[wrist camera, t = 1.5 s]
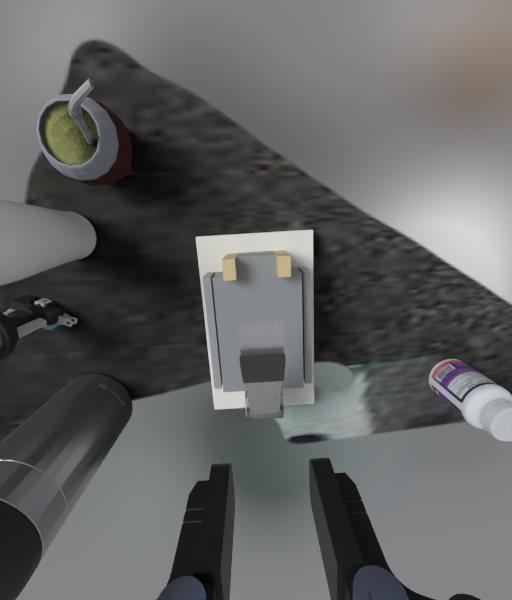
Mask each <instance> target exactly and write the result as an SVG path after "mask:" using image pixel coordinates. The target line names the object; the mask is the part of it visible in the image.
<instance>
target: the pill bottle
mask: <svg viewBox="0 0 512 600" xmlns="http://www.w3.org/2000/svg"><path fill="white" fill-rule="evenodd" d="M429 384H430V387H431V388H432V390H433V391H434V392H435V393H436V394H437V395H438V396H439V397H441V398H442V399H443V400H444V401H445V402H446V403H447V404H448V405H449V406H450V407H452V408H453V409H454V410H455V411H456V412H457V413H458V414H459V415H460V416H461V417H463V418H464V419H465V420H466V421H467V422H468V423H470V424H471V425H472V426H474V427H476V428H479V429H485V430H486V431H487V432H489V433H490V434H491V435H493V436H494V437H495V438H496V439H498V440H501V441H512V395H511V394H510V393H509V392H508V391H507V390H506V389H504V388H503V387H502V386H500V385H498V384H497V383H495V382H494V381H492V380H491V379H489V378H487V377H486V376H484V375H483V374H481V373H480V372H478V371H477V370H475V369H473V368H472V367H470V366H469V365H467V364H466V363H464V362H462V361H460V360H458V359H446V360H443V361H441V362H439V363H438V364H436V365H435V366H434V367H433V368H432V370H431V372H430V374H429Z"/></svg>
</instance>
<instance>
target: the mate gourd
mask: <svg viewBox="0 0 512 600" xmlns="http://www.w3.org/2000/svg"><path fill="white" fill-rule="evenodd" d="M93 88H94V87H93V83H92V81H91V79H90V78H89V79H88V80H87V81H86V82H85V83H84V84H83V85H82V86H81V87H80V88H79V89H78V90H77V91H76V92H75V93H74V94H65V95H59V96H57V97H55V98H54V99H52V100H50V101H49V102H47V103H46V104H45V105H44V107H43V109H42V110H41V112H40V114H39V115H38V121H37V129H36V132H37V136H38V140H39V144H40V147H41V149H42V151H43V152H44V154H45V156H46V157H47V159H48V160H49V162H50V163H51V165H53V166H54V167H55V168H56V169H58V170H59V171H60V172H61V173H63V174H64V175H65V176H68V177H69V178H70V179H73V180H75V181H78V182H81V183H84V184H87V185H92V186H96V185H109V184H112V183H114V182H116V181H118V180H120V179H122V178H123V177H124V176H126V175H131V176H132V177H134V178H135V179H136V178H138V177H139V175H140V173H139V172H138V171H137V170H136V169H135V168H134V167H133V166H131V163H132V155H133V152H132V146H131V139H132V137H133V133H132V132H131V131H130V130H129V129H127V128H125V126H124V124H123V122H122V121H121V120H120V118H119V117H118V116H116V115H115V114H114V113H113V112H112V111H111V110H109V109H108V108H107V107H106V106H105V105H104V104H102V103H100V102H98V101H95V100H93V99H90V98H87V96H88V94H89V93H90V92H91V91H92V89H93Z"/></svg>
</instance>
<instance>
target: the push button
mask: <svg viewBox="0 0 512 600" xmlns="http://www.w3.org/2000/svg"><path fill="white" fill-rule="evenodd" d="M43 300H46V301H47V302H45V301H43ZM50 302H52V301H51V300H48V299H45V298H43V299H40V300H36V297H34V296H31V295H27V296H24V297H21V298H18V299H14V300H13V302H12V308H11V309H10V310H8V311H7V312H4V313H1V312H0V350H1V349H2V350H1V351H0V361H1V360H3V359H4V358H6V357H7V356H8V354H9V353H11V352H12V351H13V350H14V348H15V346H16V344H17V342H18V339H19V338H21V337H23V336H25V335H27V334H29V333H31V332H33V331H35V330H37V329H39V328H44V329H48V330H51V329H53V328H55V327H57V326H59V325H66V326H69V327H72V324H77V318H74V317H71V316H69V315H68V314H65V313H66V310H65V309H62V308H59V307H56V306H53V305H50V304H48V303H50ZM71 319H74V322H73V321H71ZM67 322H70V324H67Z"/></svg>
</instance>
